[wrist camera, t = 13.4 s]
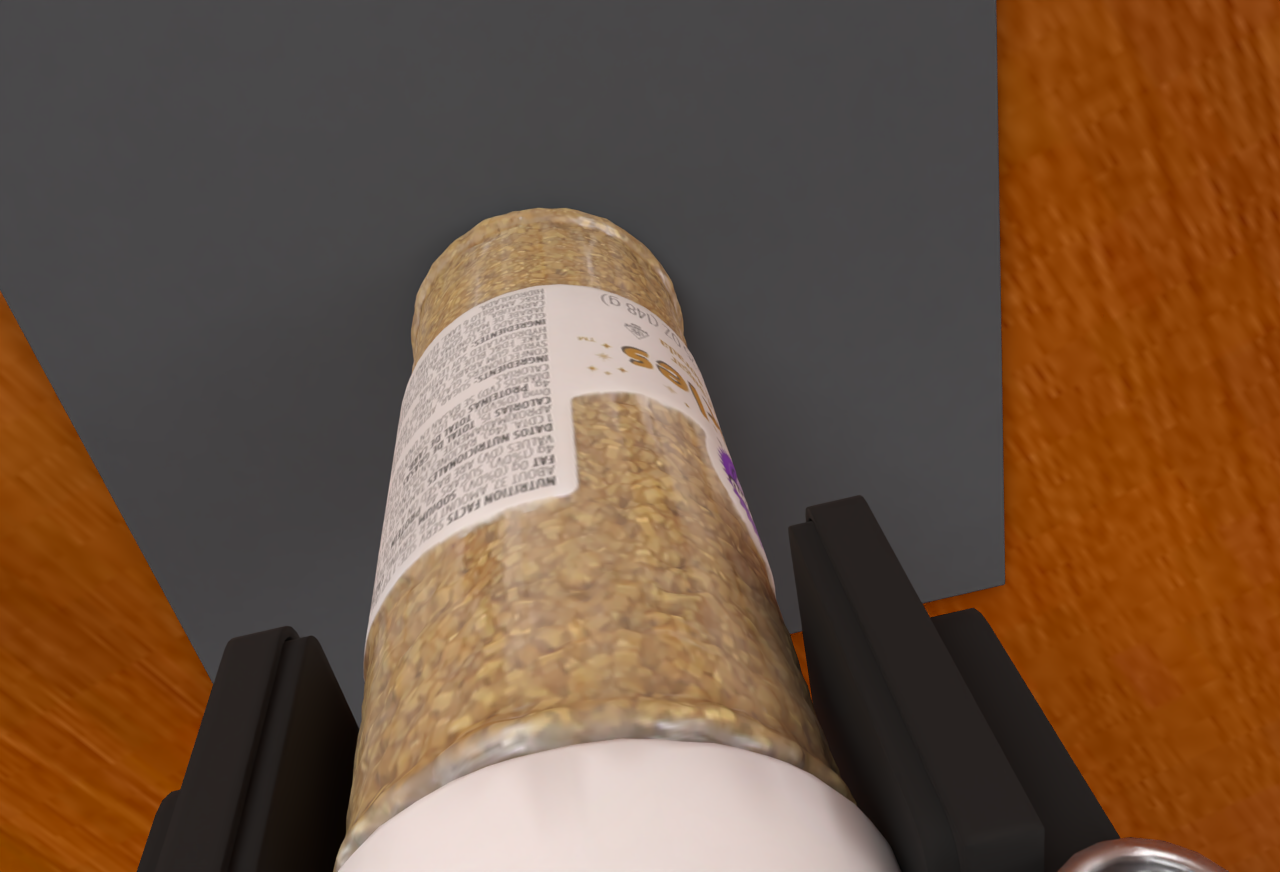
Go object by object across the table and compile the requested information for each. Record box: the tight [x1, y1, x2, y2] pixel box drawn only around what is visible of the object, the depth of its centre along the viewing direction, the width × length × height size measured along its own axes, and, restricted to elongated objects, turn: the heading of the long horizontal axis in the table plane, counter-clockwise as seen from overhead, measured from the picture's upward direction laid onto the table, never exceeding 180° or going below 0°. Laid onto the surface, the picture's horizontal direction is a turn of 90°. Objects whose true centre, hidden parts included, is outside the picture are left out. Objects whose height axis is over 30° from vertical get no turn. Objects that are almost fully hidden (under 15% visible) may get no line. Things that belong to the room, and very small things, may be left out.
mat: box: [0, 0, 1005, 729], centre depth 18 cm, size 16×16×1 cm
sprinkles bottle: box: [333, 208, 901, 872], centre depth 12 cm, size 5×5×14 cm
